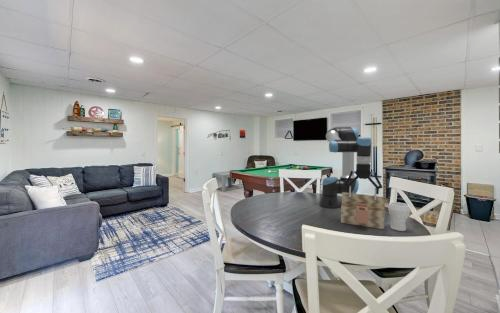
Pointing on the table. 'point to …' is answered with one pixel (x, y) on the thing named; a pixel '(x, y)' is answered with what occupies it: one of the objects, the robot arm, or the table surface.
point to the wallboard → (374, 209)
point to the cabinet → (362, 213)
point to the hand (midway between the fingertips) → (362, 198)
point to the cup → (398, 215)
